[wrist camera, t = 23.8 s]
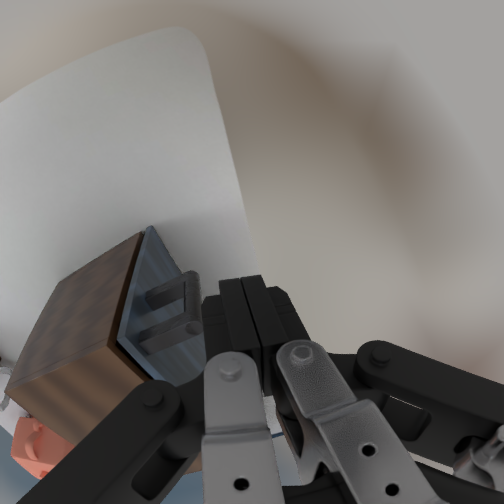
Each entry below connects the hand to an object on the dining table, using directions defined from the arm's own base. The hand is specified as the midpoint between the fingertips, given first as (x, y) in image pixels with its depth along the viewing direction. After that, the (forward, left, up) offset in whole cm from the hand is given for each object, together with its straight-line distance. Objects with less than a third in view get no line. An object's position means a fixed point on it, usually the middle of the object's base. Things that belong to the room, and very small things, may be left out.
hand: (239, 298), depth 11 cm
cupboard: (+22, +18, -33) cm, 44 cm away
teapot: (+69, +40, -33) cm, 86 cm away
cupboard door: (+9, +18, -33) cm, 39 cm away
